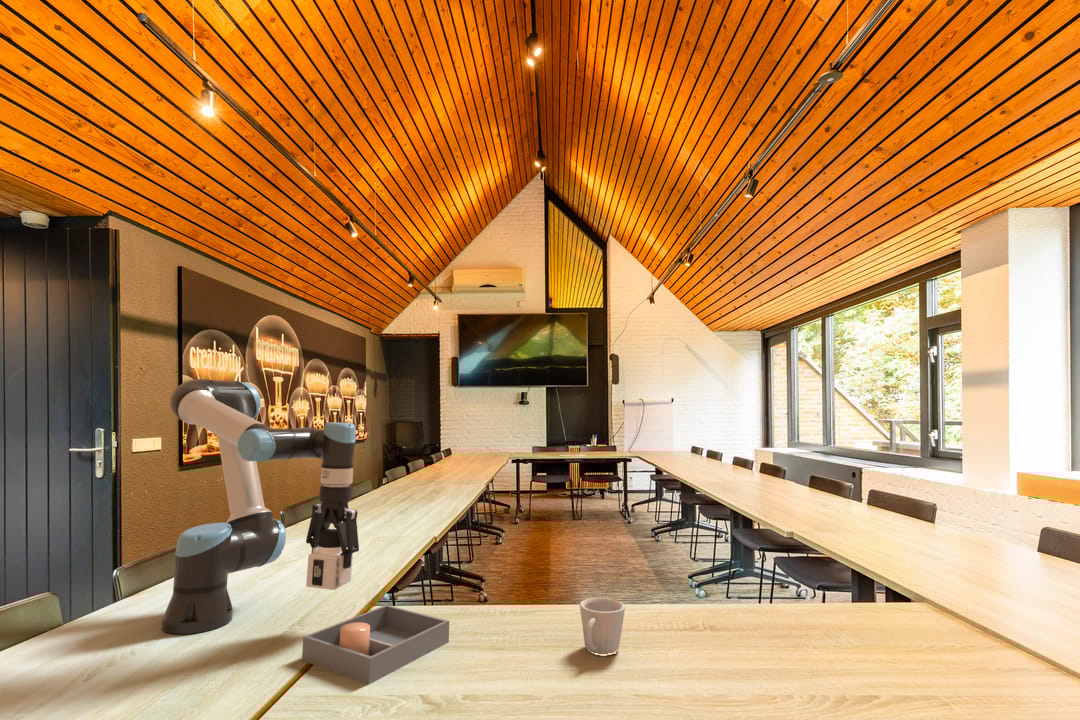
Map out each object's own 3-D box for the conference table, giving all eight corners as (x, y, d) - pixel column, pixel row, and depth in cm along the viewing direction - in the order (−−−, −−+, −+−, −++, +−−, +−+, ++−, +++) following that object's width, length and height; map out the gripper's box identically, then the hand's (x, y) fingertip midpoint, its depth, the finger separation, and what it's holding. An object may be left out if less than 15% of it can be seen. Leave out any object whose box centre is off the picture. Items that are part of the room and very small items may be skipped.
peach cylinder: (332, 664, 116) (334, 629, 117) (354, 653, 122) (356, 620, 122) (352, 671, 113) (354, 635, 114) (374, 660, 119) (376, 626, 119)
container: (334, 590, 133) (338, 534, 134) (305, 587, 134) (309, 532, 135) (351, 581, 140) (355, 528, 141) (324, 577, 142) (327, 525, 143)
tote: (301, 663, 118) (303, 636, 119) (385, 627, 139) (386, 604, 139) (369, 688, 108) (370, 658, 109) (448, 645, 129) (449, 620, 129)
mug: (630, 645, 131) (630, 601, 132) (610, 671, 117) (611, 622, 118) (588, 637, 135) (588, 594, 136) (564, 661, 122) (565, 613, 123)
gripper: (295, 481, 142) (287, 572, 140) (354, 491, 131) (348, 590, 129) (319, 479, 148) (313, 566, 146) (378, 487, 137) (372, 582, 135)
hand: (329, 577), depth 137 cm, fingers closed on container, 9 cm apart
